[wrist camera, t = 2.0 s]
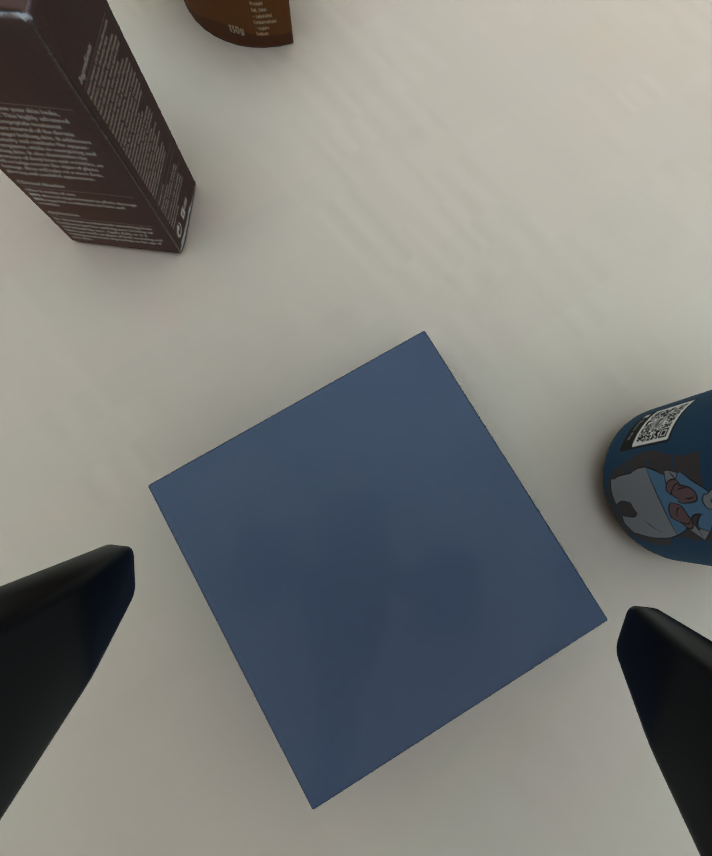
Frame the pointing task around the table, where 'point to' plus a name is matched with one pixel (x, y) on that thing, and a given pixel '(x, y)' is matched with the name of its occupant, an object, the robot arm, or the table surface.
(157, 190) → the box
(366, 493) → the blue square block
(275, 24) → the food container
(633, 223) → the table surface
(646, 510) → the soda can
